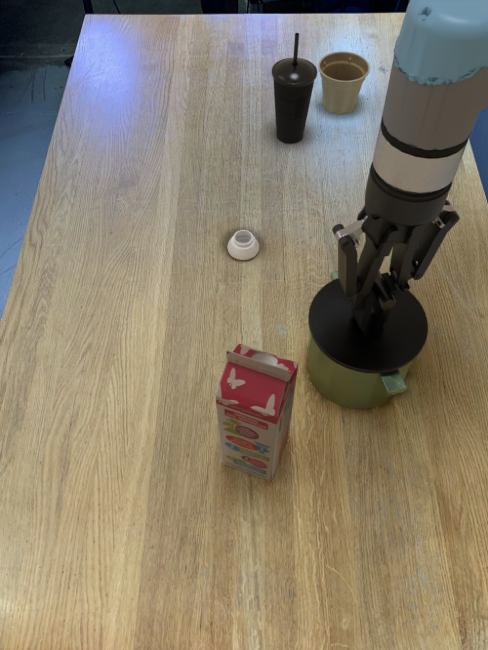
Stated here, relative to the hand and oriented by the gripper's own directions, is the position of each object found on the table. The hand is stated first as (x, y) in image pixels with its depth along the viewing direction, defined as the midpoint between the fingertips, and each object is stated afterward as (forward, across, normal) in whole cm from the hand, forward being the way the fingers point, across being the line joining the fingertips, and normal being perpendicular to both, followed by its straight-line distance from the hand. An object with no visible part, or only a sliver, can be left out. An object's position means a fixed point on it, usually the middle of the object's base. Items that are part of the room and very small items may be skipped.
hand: (369, 316), depth 74 cm
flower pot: (+12, -19, -55) cm, 59 cm away
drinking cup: (+12, -7, -49) cm, 51 cm away
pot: (+12, 0, 0) cm, 12 cm away
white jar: (+12, +9, -25) cm, 29 cm away
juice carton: (+12, +17, +8) cm, 22 cm away
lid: (+1, 0, 0) cm, 1 cm away
